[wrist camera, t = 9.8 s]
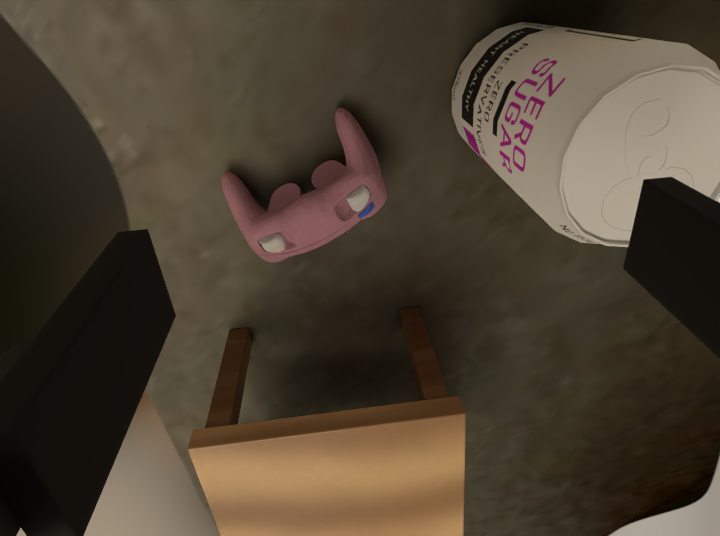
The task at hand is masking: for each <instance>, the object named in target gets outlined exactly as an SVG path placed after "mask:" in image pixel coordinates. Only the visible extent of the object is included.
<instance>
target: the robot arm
mask: <svg viewBox="0 0 720 536" xmlns="http://www.w3.org/2000/svg"><path fill="white" fill-rule="evenodd" d="M623 269H624V270H626V271H627V272H628V273H629V274H630V275H631V276H632V277H633V278H634V279H635V280H636V281H637V282H638V283H639V284H641V285H642V286H643V287H644V288H645V289H646V290H647V291H648V292H649V293H650V294H651V295H652V296H653V297H654V298H656V299H657V300H658V301H659V302H660V303H661V304H662V305H663V306H664V307H665V308H666V309H667V310H668V311H669V312H671V313H672V314H673V315H674V316H675V317H676V318H677V319H678V320H679V321H680V322H681V323H682V324H683V325H684V326H685V327H687V328H688V329H689V330H690V331H691V332H692V333H693V334H694V335H695V336H696V337H697V338H698V339H699V340H700V341H702V342H703V343H704V344H705V345H706V346H707V347H708V348H709V349H710V350H711V351H712V352H713V353H714V354H715V355H717V356H718V357H719V358H720V203H719V202H717V201H715V200H713V199H711V198H709V197H708V196H706V195H704V194H702V193H700V192H699V191H697V190H695V189H693V188H691V187H689V186H688V185H686V184H684V183H682V182H680V181H678V180H677V179H675V178H673V177H664V178H654V179H644V180H643V184H642V188H641V193H640V197H639V202H638V206H637V210H636V215H635V219H634V224H633V228H632V232H631V237H630V241H629V246H628V250H627V254H626V259H625V263H624V268H623ZM175 316H176V315H175V312H174V309H173V306H172V303H171V299H170V296H169V293H168V290H167V287H166V284H165V281H164V278H163V275H162V272H161V269H160V266H159V263H158V260H157V256H156V253H155V250H154V247H153V244H152V241H151V238H150V235H149V232H148V229H146V230H136V231H126V232H118V233H117V234H116V235H115V237H114V238H113V239H112V240H111V242H110V243H109V244H108V245H107V247H106V248H105V249H104V251H103V252H102V253H101V254H100V256H99V257H98V258H97V259H96V261H95V262H94V263H93V264H92V266H91V267H90V268H89V269H88V271H87V272H86V273H85V274H84V276H83V277H82V278H81V280H80V281H79V282H78V283H77V285H76V286H75V287H74V289H73V290H72V291H71V292H70V293H69V295H68V296H67V297H66V299H65V300H64V301H63V302H62V304H61V305H60V306H59V307H58V309H57V310H56V311H55V313H54V314H53V315H52V316H51V318H50V319H49V320H48V321H47V323H46V324H45V325H44V326H43V328H42V329H41V330H40V331H39V333H38V334H37V335H36V336H35V338H34V339H33V340H26V341H21V342H20V343H19V344H17V345H16V346H14V347H13V348H12V349H10V350H9V351H8V352H6V353H5V354H4V355H2V356H1V357H0V536H16V535H17V533H18V531H19V529H20V527H21V528H22V530H23V531H24V532H25V534H26V535H27V536H83V535H84V533H85V530H86V528H87V525H88V523H89V521H90V519H91V516H92V513H93V511H94V509H95V507H96V504H97V502H98V499H99V497H100V495H101V492H102V490H103V487H104V485H105V483H106V480H107V478H108V476H109V473H110V471H111V468H112V466H113V464H114V461H115V459H116V456H117V454H118V452H119V449H120V447H121V445H122V442H123V440H124V438H125V435H126V433H127V430H128V428H129V425H130V423H131V421H132V418H133V416H134V414H135V411H136V409H137V406H138V404H139V402H140V399H141V397H142V395H143V392H144V390H145V388H146V385H147V383H148V380H149V378H150V376H151V373H152V371H153V369H154V366H155V364H156V361H157V359H158V357H159V354H160V352H161V350H162V347H163V345H164V342H165V340H166V338H167V335H168V333H169V331H170V328H171V326H172V323H173V321H174V319H175Z"/></svg>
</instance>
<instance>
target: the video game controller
mask: <svg viewBox="0 0 720 536" xmlns="http://www.w3.org/2000/svg"><path fill="white" fill-rule="evenodd" d="M335 123H336V129H337V132H338V134H339V137H340V140H341V143H342V146H343V149H344V152H345V157H346V166H344V165H342V164H341V163H339V162H338V161H335V160H330V161H326V162H324V163H322V164H321V165H319V166H318V167H317V168H316V169H315V171H314V172H313V174H312V179H311V180H312V184H313V185H314V187H315V188H316V189H315V190H313V191H310V192H308V193H306V194H303V193H302V191H301V189H300V188H299V187H298V185H296V184H294V183H288V184H285V185H282V186H280V187H279V188H277V189H276V190H275V191H274V193H273V194H272V197H271V199H270V204H269V207H268V210H263V209H262V208H261V207H260V206H259V205H258V204H257V203H256V201H255V200H254V198H253V197H252V195H251V194H250V192H249V190H248V189H247V187H246V186H245V185H244V184H243V182H242V181H241V180H240V179H239V178H238V177H237V176H236V175H235V174H234V173H232V172H230V171H226V172H225V173H224V174H223V176H222V189H223V192H224V195H225V198H226V200H227V202H228V205H229V207H230V209H231V212H232V214H233V216H234V218H235V220H236V222H237V224H238V226H239V228H240V230H241V232H242V234H243V236H244V237H245V239H246V240H247V242H248V244H249V246H250V247H251V249H252V250H253V251H254V252H255V253H256V254H257V255H259V256H260V257H261V258H262V259H264V260H265V261H268V262H279V261H282V260H285V259H286V258H288V257H289V256H294V255H298V254H302V253H305V252H308V251H310V250H313V249H315V248H318V247H320V246H322V245H324V244H326V243H328V242H330V241H332V240H333V239H335V238H337V237H339V236H340V235H342V234H343V233H345V232H346V231H348V230H349V229H350V228H352V227H353V226H354V225H356V224H357V223H358V222H359V221H360V220H361V219H365V218H368V217H370V216H372V215H373V214H375V213H376V212H377V211H378V210H379V209H380V208H381V207H382V206H383V204H384V203H385V201H386V198H387V187H386V184H385V182H384V181H383V178H382V174H381V169H380V165H379V162H378V159H377V156H376V154H375V152H374V149H373V147H372V145H371V144H370V142H369V140H368V138H367V137H366V135H365V133H364V132H363V130H362V129H361V127H360V125H359V124H358V122H357V121H356V119H355V118H354V117H353V115H352V114H351V113H350V112H349V111H347V110H346V109H344V108H338V109H337V110H336V113H335Z"/></svg>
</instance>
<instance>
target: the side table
mask: <svg viewBox="0 0 720 536" xmlns="http://www.w3.org/2000/svg"><path fill="white" fill-rule="evenodd" d="M400 311H401V325H402V328H403V332H404V336H405V340H406V343H407V347H408V351H409V355H410V359H411V362H412V366H413V370H414V374H415V378H416V381H417V385H418V389H419V393H420V396H421V400H422V401H414V402H407V403H399V404H391V405H383V406H375V407H368V408H360V409H352V410H344V411H336V412H329V413H321V414H313V415H305V416H297V417H290V418H282V419H274V420H266V421H258V422H250V423H243V424H238V419H239V414H240V408H241V402H242V396H243V391H244V385H245V379H246V374H247V368H248V362H249V357H250V351H251V345H252V340H251V336H250V332H249V328H240V329H232V330H229V334H228V338H227V342H226V346H225V350H224V354H223V358H222V362H221V366H220V370H219V374H218V378H217V382H216V386H215V390H214V394H213V398H212V402H211V406H210V410H209V414H208V418H207V423H206V427H205V428H204V429H196V430H193V432H192V436H191V439H190V443H189V447H188V452H189V454H190V457H191V459H192V462H193V465H194V467H195V470H196V472H197V475H198V478H199V480H200V483H201V485H202V488H203V491H204V493H205V496H206V498H207V501H208V504H209V506H210V509H211V511H212V514H213V517H214V519H215V522H216V524H217V527H218V530H219V532H220V535H221V536H463V526H464V476H465V425H466V413H465V410H464V407H463V405H462V402H461V399H460V397H459V396H453V397H449V395H448V392H447V389H446V386H445V383H444V380H443V377H442V374H441V371H440V368H439V365H438V362H437V359H436V356H435V353H434V350H433V347H432V344H431V341H430V338H429V335H428V332H427V329H426V326H425V323H424V320H423V317H422V314H421V311H420V308H419V307H411V308H403V309H401V310H400Z"/></svg>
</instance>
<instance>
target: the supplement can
mask: <svg viewBox="0 0 720 536" xmlns="http://www.w3.org/2000/svg"><path fill="white" fill-rule="evenodd" d="M452 116H453V118H454V121H455V124H456V127H457V130H458V133H459V135H460V136H461V137H462V138H463V139H464V140H465V141H466V143H467V144H468V145H469V146H470V147H471V148H472V149H473V150H474V151H475V152H476V153H477V154H478V155H479V156H480V157H481V158H482V159H483V160H484V161H485V162H486V163H487V164H488V165H489V166H490V167H491V168H492V169H493V170H494V171H495V172H496V173H497V174H498V175H499V176H500V177H501V178H502V179H503V180H504V181H505V182H506V183H507V184H508V185H509V186H510V187H511V188H512V189H513V190H514V191H515V192H516V193H517V194H518V195H519V196H520V197H521V198H522V199H523V200H524V201H525V202H526V203H527V204H528V205H529V206H530V207H531V208H532V209H533V210H534V211H535V212H536V213H537V214H538V215H539V216H540V217H541V218H542V219H543V220H544V221H545V222H546V223H547V224H548V225H549V226H550V227H551V228H552V229H554V230H555V231H556V232H558V233H561V234H563V235H565V236H567V237H569V238H572V239H574V240H576V241H578V242H580V243H596V244H603V245H605V246H620V247H628V246H629V241H630V237H631V232H632V228H633V224H634V219H635V215H636V210H637V206H638V202H639V197H640V193H641V188H642V184H643V180H644V179H654V178H664V177H673V178H675V179H677V180H678V181H680V182H682V183H684V184H686V185H688V186H689V187H691V188H693V189H695V190H697V191H699V192H700V193H702V194H704V195H706V196H708V197H709V198H711V199H713V200H715V201H716V200H717V199H718V197H719V196H720V70H719V69H718V67H717V65H716V63H715V62H714V61H713V60H711V59H710V58H708V57H706V56H705V55H703V54H702V53H700V52H699V51H697V50H696V49H694V48H693V47H691V46H690V45H688V44H683V43H676V42H669V41H662V40H654V39H647V38H640V37H632V36H625V35H618V34H611V33H603V32H596V31H589V30H581V29H574V28H567V27H560V26H552V25H545V24H536V23H527V22H520V23H516V24H513V25H509V26H506V27H502V28H499V29H497V30H495V31H494V32H492V33H491V34H490V35H488V36H487V37H485V38H484V39H483V40H481V41H480V42H478V43H477V44H476V45H475V46H474V48H473V49H472V50H471V52H470V53H469V54H468V56H467V57H466V58H465V60H464V61H463V62H462V64H461V65H460V68H459V71H458V74H457V77H456V79H455V82H454V85H453V88H452Z"/></svg>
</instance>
